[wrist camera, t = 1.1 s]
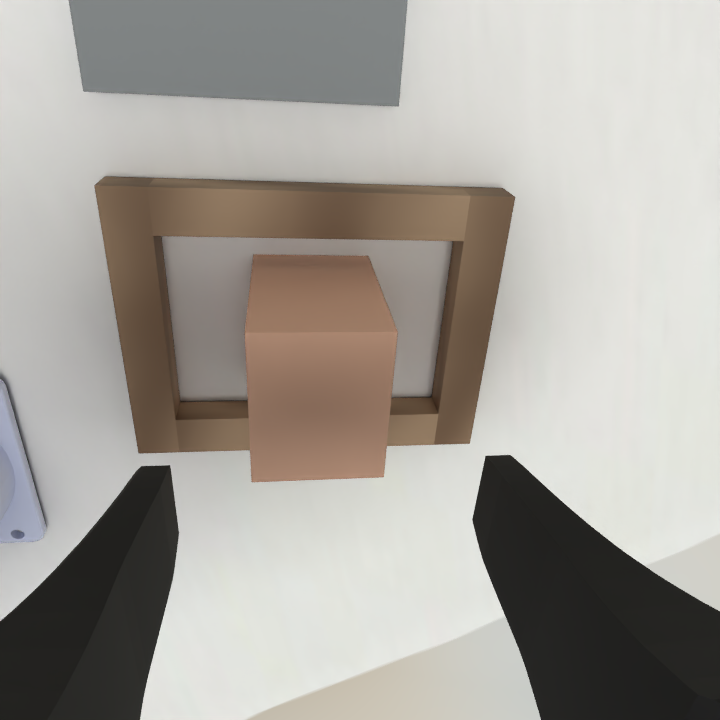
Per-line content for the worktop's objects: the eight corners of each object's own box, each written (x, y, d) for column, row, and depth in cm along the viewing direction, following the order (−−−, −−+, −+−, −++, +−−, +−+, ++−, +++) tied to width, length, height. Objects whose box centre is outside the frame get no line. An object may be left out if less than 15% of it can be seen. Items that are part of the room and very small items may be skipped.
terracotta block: (258, 378, 23) (251, 482, 17) (253, 254, 20) (244, 332, 15) (360, 376, 23) (383, 477, 18) (368, 255, 21) (397, 331, 15)
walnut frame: (145, 434, 23) (138, 453, 22) (105, 176, 18) (94, 185, 17) (461, 426, 25) (469, 443, 24) (502, 188, 20) (515, 197, 19)
